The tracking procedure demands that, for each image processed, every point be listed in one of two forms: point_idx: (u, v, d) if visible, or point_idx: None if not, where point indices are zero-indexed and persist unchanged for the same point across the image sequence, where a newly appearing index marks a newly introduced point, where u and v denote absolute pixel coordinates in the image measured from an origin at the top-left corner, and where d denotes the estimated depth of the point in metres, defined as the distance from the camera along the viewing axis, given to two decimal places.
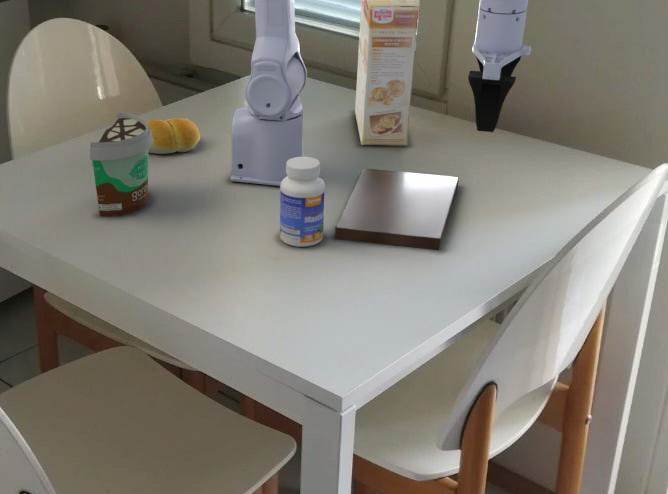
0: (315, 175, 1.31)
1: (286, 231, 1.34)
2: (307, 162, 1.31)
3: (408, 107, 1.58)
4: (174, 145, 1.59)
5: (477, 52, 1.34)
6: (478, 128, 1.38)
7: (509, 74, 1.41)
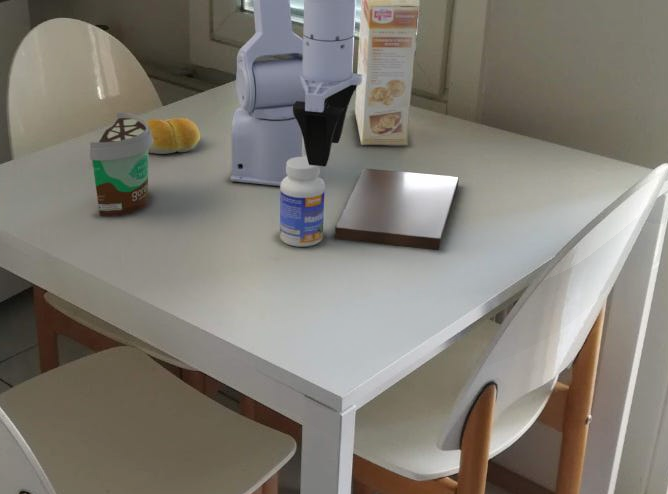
0: (315, 175, 1.31)
1: (286, 231, 1.34)
2: (307, 162, 1.31)
3: (408, 107, 1.58)
4: (174, 145, 1.59)
5: (303, 81, 1.24)
6: (309, 162, 1.28)
7: (346, 103, 1.31)
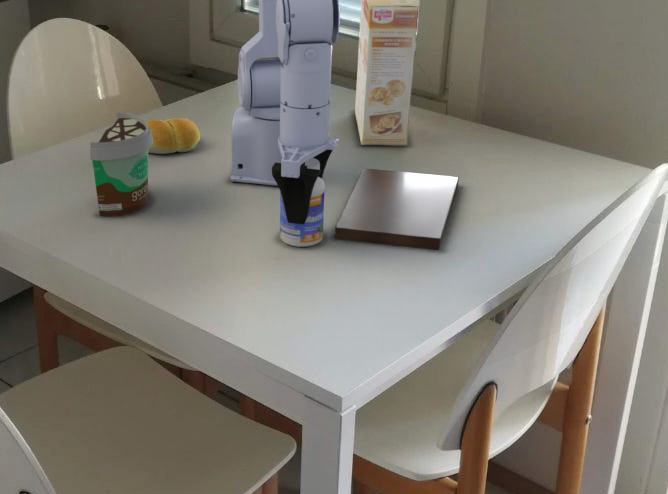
0: None
1: (286, 231, 1.34)
2: (307, 162, 1.31)
3: (408, 107, 1.58)
4: (174, 145, 1.59)
5: (280, 146, 1.27)
6: (288, 220, 1.32)
7: (322, 167, 1.34)
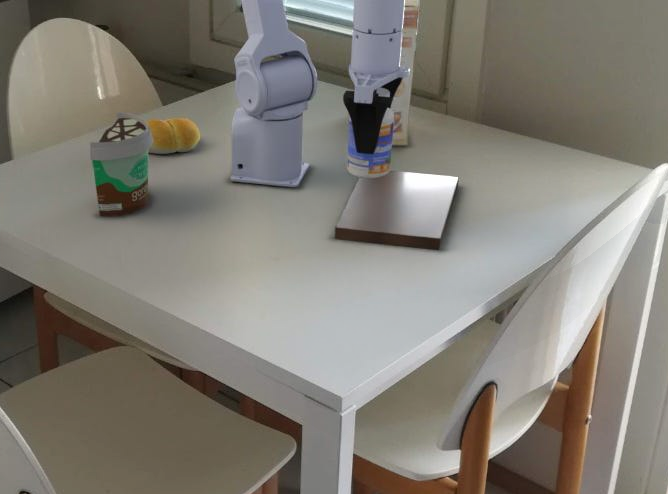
0: None
1: (354, 162, 1.34)
2: (377, 92, 1.31)
3: (408, 107, 1.58)
4: (174, 145, 1.59)
5: (351, 74, 1.27)
6: (357, 150, 1.32)
7: None
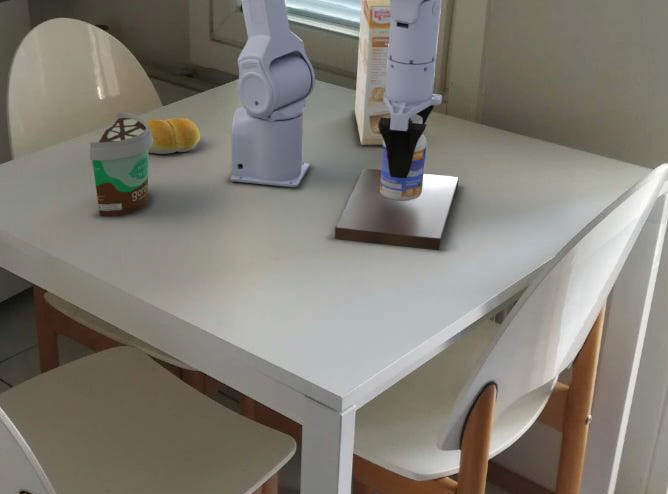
0: None
1: (388, 186, 1.39)
2: None
3: None
4: (174, 145, 1.59)
5: (386, 101, 1.32)
6: (391, 174, 1.37)
7: (422, 123, 1.38)
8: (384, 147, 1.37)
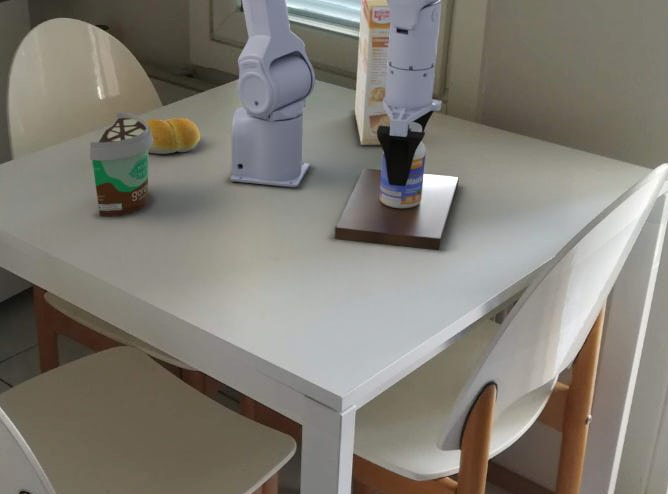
0: None
1: (387, 193, 1.40)
2: (410, 126, 1.36)
3: None
4: (174, 145, 1.59)
5: (386, 107, 1.33)
6: (390, 182, 1.37)
7: (423, 127, 1.39)
8: None
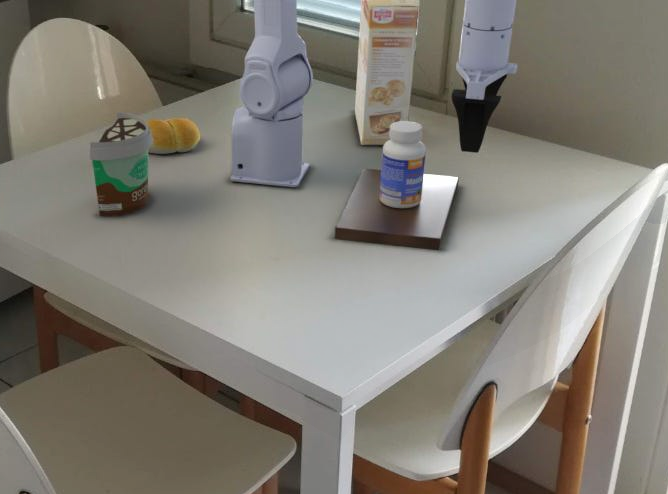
0: (418, 138, 1.36)
1: (387, 193, 1.40)
2: (410, 126, 1.36)
3: (408, 107, 1.58)
4: (174, 145, 1.59)
5: (461, 70, 1.29)
6: (462, 148, 1.33)
7: (495, 92, 1.35)
8: (384, 155, 1.38)
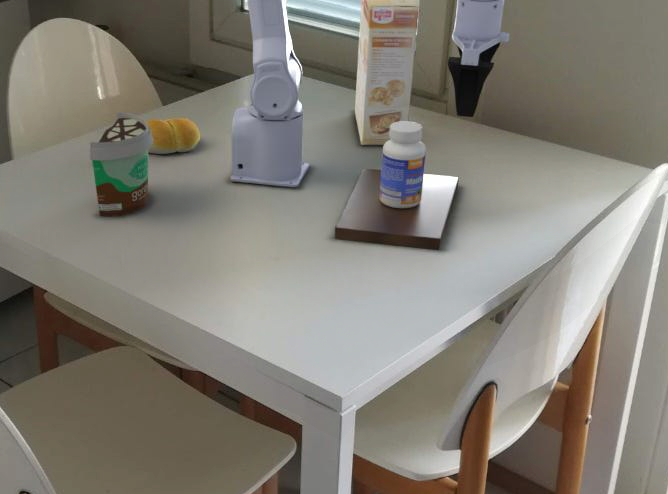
0: (418, 138, 1.36)
1: (387, 193, 1.40)
2: (410, 126, 1.36)
3: (408, 107, 1.58)
4: (174, 145, 1.59)
5: (456, 39, 1.37)
6: (458, 113, 1.41)
7: (488, 61, 1.44)
8: (384, 155, 1.38)
